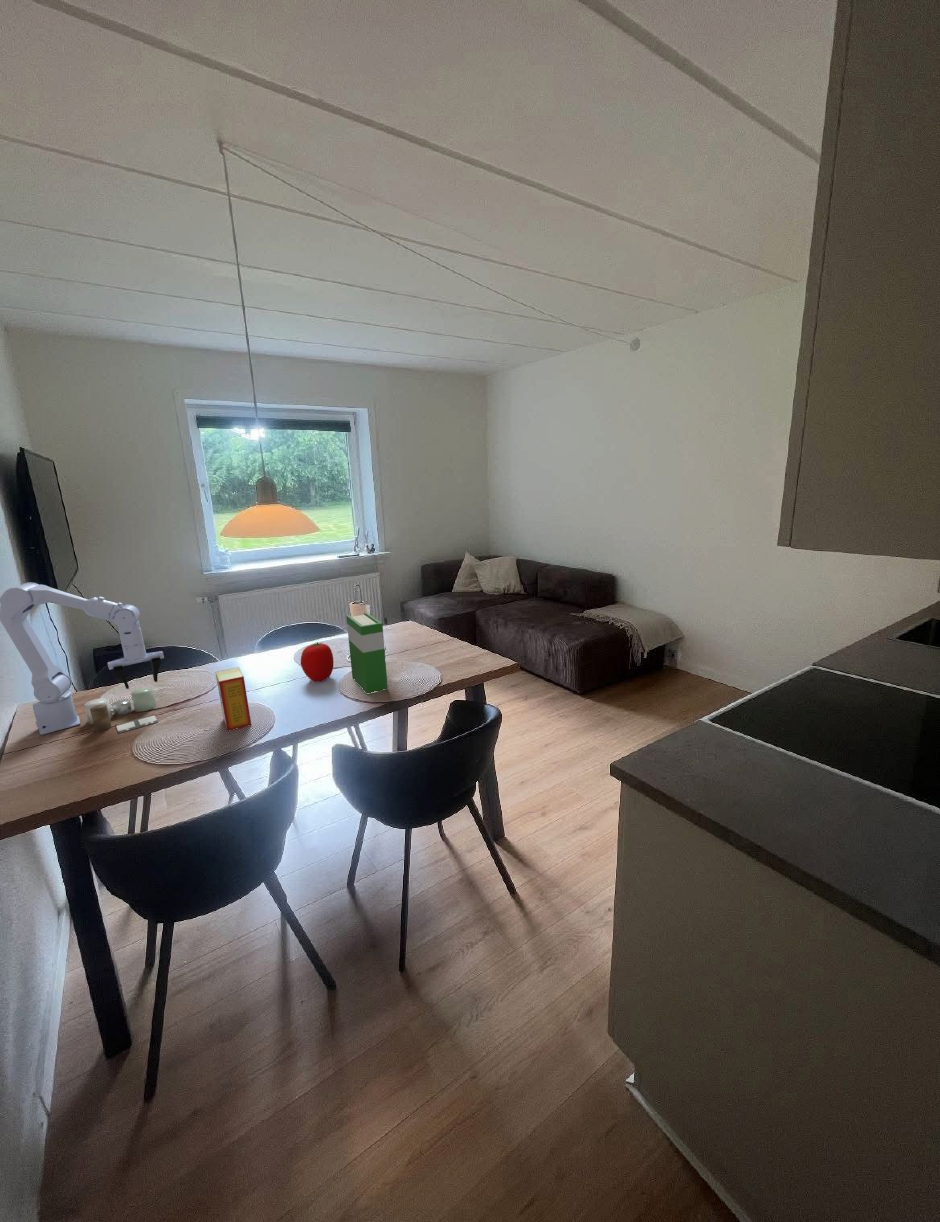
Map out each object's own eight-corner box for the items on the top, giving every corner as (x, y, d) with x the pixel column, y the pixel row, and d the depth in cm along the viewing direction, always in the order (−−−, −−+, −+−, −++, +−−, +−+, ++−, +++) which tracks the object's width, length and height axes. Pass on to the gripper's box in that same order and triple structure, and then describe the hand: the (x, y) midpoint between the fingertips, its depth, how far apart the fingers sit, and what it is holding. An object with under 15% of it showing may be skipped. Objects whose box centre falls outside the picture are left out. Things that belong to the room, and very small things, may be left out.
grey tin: (115, 717, 154) (112, 707, 153) (113, 712, 158) (111, 702, 157) (133, 712, 157) (131, 702, 156) (131, 708, 161) (128, 698, 160)
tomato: (329, 685, 173) (325, 648, 170) (298, 686, 173) (293, 648, 170) (339, 672, 185) (336, 637, 182) (310, 673, 186) (305, 637, 182)
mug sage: (136, 713, 156) (132, 696, 155) (132, 706, 162) (128, 689, 160) (157, 707, 160) (154, 690, 159) (153, 700, 166) (150, 684, 164)
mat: (118, 733, 143) (118, 732, 143) (115, 725, 148) (115, 724, 148) (158, 722, 150) (157, 721, 150) (153, 714, 155) (153, 714, 155)
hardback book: (352, 677, 180) (346, 615, 174) (371, 673, 183) (366, 612, 177) (367, 694, 165) (360, 626, 159) (387, 689, 168) (382, 623, 162)
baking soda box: (223, 719, 150) (215, 670, 146) (246, 713, 154) (238, 665, 150) (227, 731, 143) (218, 680, 139) (251, 725, 146) (243, 675, 142)
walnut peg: (96, 733, 144) (90, 711, 142) (94, 728, 147) (89, 707, 145) (112, 728, 147) (107, 707, 145) (110, 724, 150) (105, 703, 148)
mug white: (89, 726, 149) (85, 708, 147) (87, 718, 154) (83, 700, 153) (113, 719, 152) (109, 702, 151) (110, 712, 158) (106, 695, 156)
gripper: (105, 652, 144) (115, 694, 147) (162, 641, 153) (170, 681, 157) (103, 647, 149) (112, 688, 153) (158, 636, 158) (165, 675, 162)
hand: (141, 684), depth 155 cm, fingers open, 7 cm apart
